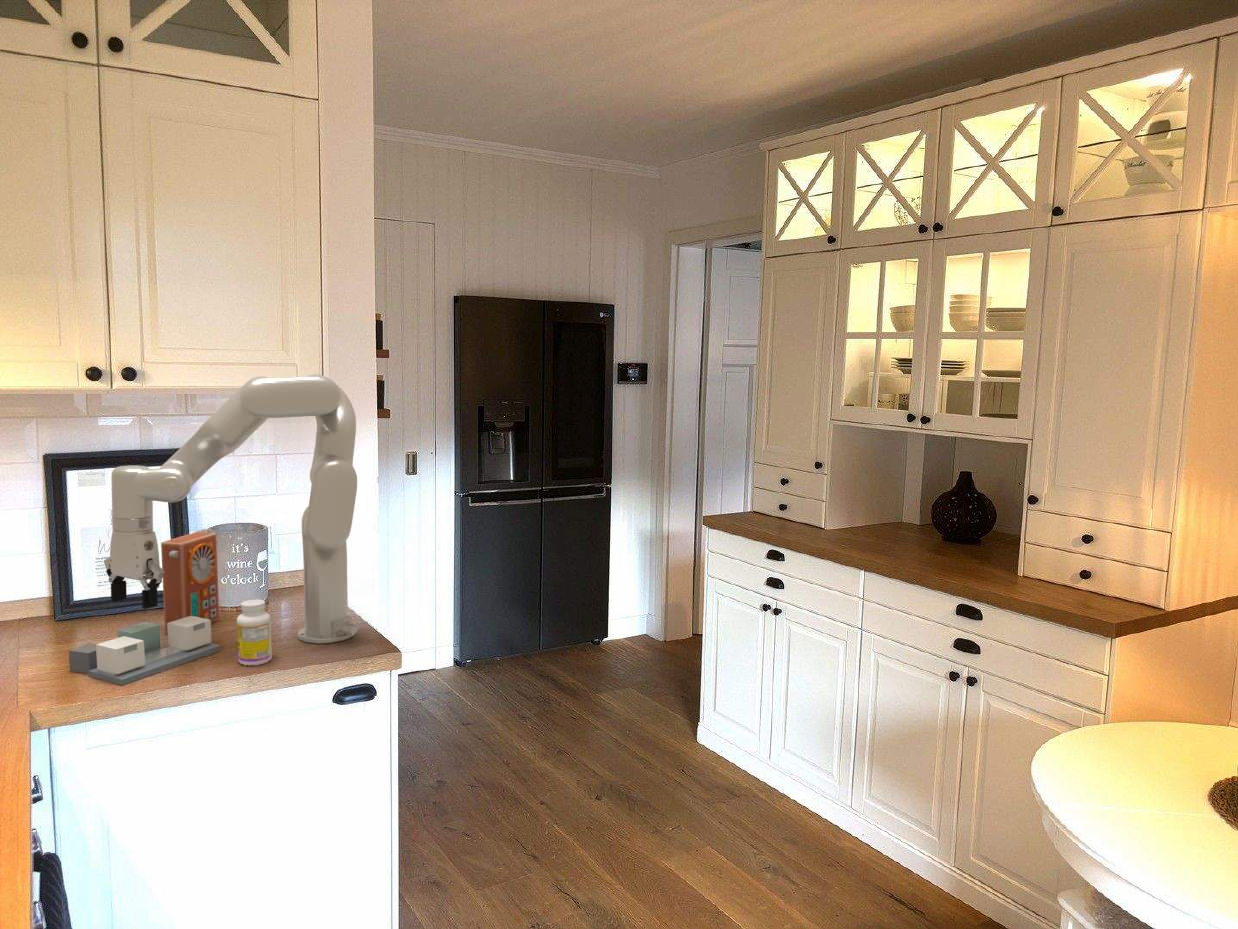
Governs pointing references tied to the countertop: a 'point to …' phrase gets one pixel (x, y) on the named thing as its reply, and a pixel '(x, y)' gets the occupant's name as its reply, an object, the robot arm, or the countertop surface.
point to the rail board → (155, 665)
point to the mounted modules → (131, 651)
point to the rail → (157, 657)
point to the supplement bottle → (254, 633)
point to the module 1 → (83, 658)
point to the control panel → (190, 577)
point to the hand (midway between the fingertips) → (134, 603)
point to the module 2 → (143, 634)
